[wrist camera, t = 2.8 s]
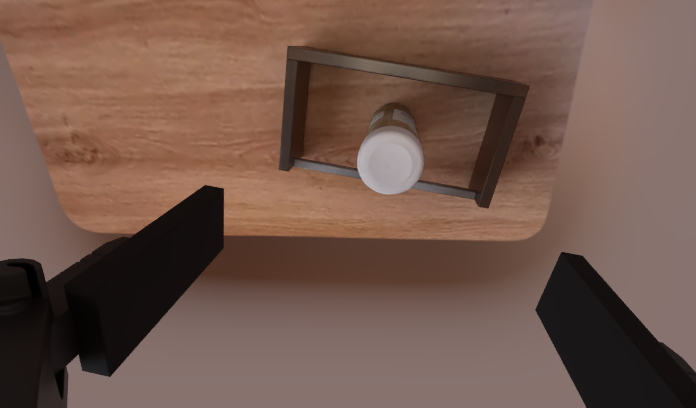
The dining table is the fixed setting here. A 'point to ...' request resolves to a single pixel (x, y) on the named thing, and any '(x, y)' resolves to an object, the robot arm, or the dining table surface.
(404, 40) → the dining table surface
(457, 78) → the spice rack
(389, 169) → the spice jar
